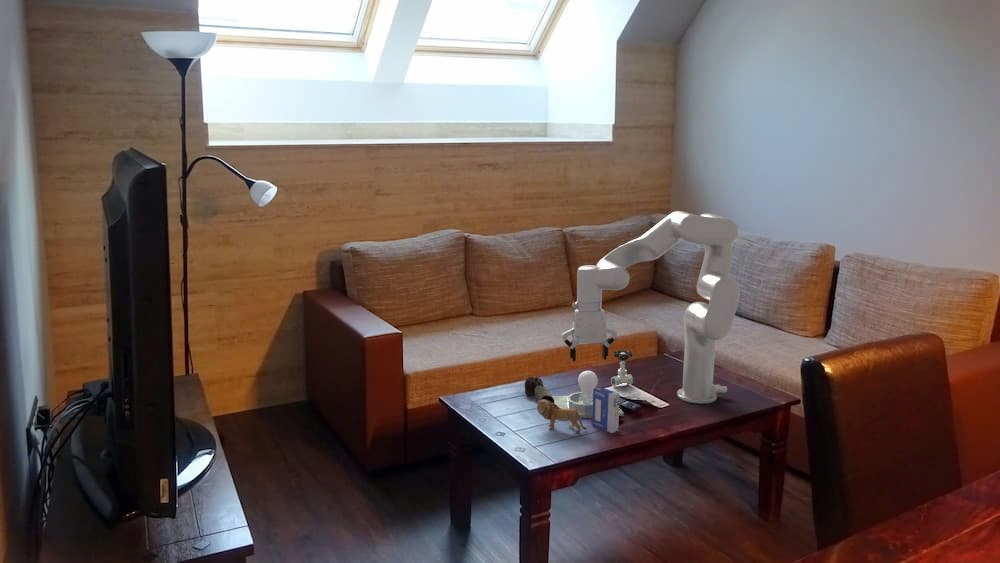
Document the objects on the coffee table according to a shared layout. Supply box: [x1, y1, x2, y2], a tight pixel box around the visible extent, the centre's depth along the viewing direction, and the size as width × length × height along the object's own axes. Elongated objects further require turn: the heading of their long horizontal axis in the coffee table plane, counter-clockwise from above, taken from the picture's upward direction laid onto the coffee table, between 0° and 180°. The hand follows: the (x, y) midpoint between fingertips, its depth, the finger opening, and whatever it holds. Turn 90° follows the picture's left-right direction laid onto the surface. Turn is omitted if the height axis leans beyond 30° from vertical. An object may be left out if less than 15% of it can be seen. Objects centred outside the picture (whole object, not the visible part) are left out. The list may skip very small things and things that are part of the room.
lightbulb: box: [577, 370, 599, 405], centre depth 251 cm, size 6×6×11 cm
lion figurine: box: [536, 400, 588, 434], centre depth 235 cm, size 15×5×9 cm, turn 83°
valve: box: [610, 349, 634, 387], centre depth 270 cm, size 7×7×12 cm
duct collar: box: [551, 391, 625, 419], centre depth 252 cm, size 20×16×3 cm
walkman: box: [591, 386, 620, 434], centre depth 236 cm, size 8×3×12 cm, turn 42°
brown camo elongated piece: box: [524, 376, 555, 403], centre depth 260 cm, size 18×7×6 cm, turn 12°
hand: (588, 359), depth 249 cm, fingers open, 9 cm apart
